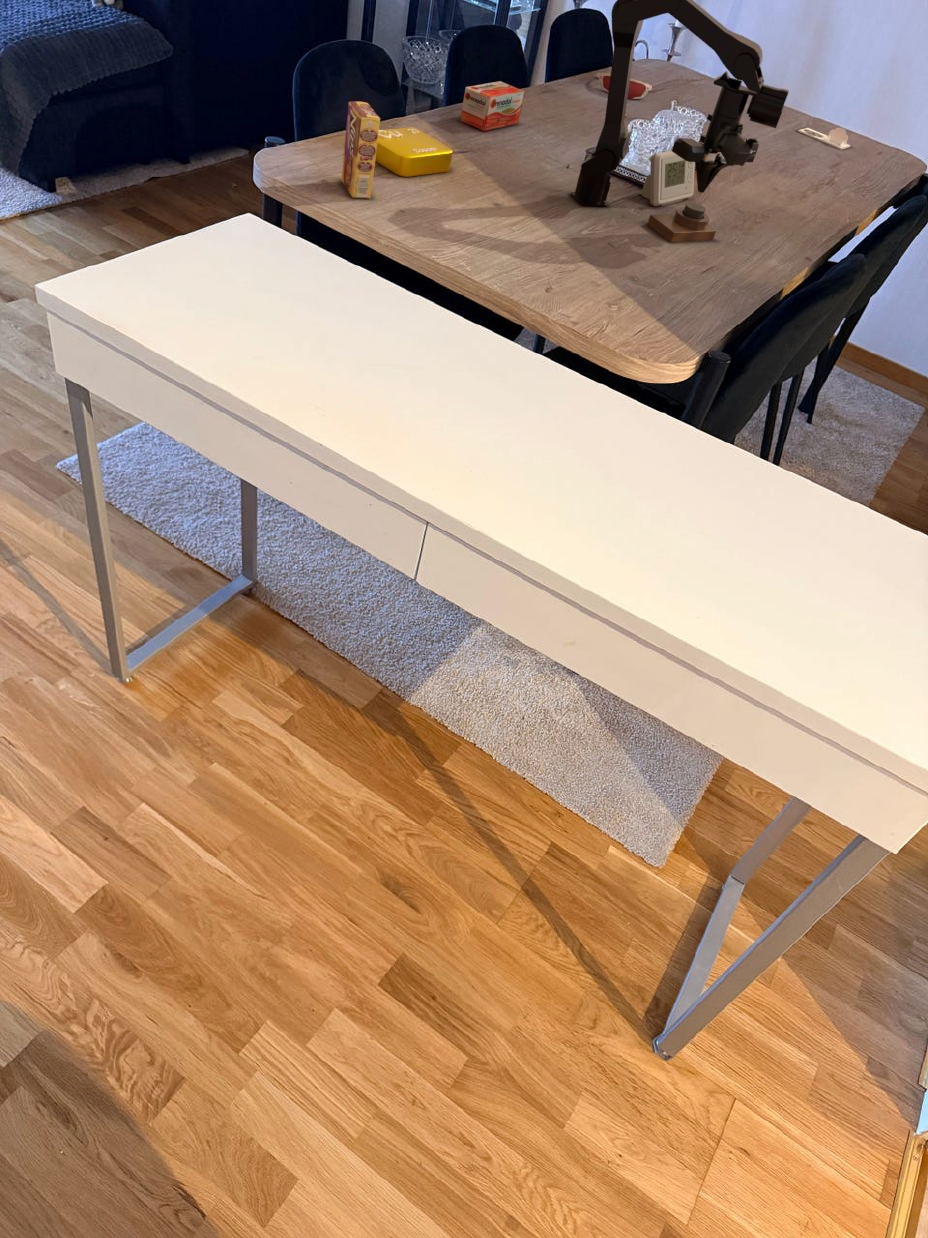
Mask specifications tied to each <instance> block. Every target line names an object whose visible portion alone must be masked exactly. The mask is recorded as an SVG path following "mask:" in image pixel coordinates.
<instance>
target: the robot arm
mask: <svg viewBox="0 0 928 1238" xmlns="http://www.w3.org/2000/svg"><path fill="white" fill-rule="evenodd" d="M665 14H669V15H670V16H671V17H673V19H675V20H676V21H678V22H679V23H680V24H681V25H683V26H684V27H685V28H686V29H687V30H688V31H690V32H691V33H692V34H693V35H694V36H696V37H697V38H698V39H699V40H701V41H702V42H703V43H704V44H705V45H706V46H708V47H709V49H712V51H713V52H714V53H715V54H716V56H717V57H718V59H719V60H720V61H721V63H722V65H723V66H724V68H726V70H724V72H723V73H722V74H721V75H719V76H717V77H715V79H714V80H713V85H715V86H717V87H721V89H720V92H719V95H718V98H717V101H716V104H715V107H714V109H713V113H708V114H707V117H706V120H708V121H709V124H708V127H707V129H706V130H707V131H706V133H705V134H701V135H700V138H699V141H700V142H701V143H700V142H698V141H697V140H695V139H694V138H692V137H678V138H677V139H675V140H674V143H673V145H672V148H671V149H672V152H673V153H675V154H676V155H678V156H679V157H681V158H682V159H684V160H685V161H688V162H695V173H696V184H697V185H696V186H697V192H699V193H701V194H702V193H704V192H705V191H706V190H707V189H708V187H709V186H710V184H711V183H712V182H713V180H714V179H715V178H716V177H717V176H718V174H719V173H720V171H722V170H723V169H725V168H727V167H734V166H740V167H742V166H744V165H745V164H746V163H754V160H755V157H756V155H757V153H758V149H759V146H760V142H759V140H758V139H757V138H756V137H753V138H748V137H744V136H743V135H742V132H743V129H744V127H743V126H744V124H743V123H742V122H741V120H742V117H743V114H744V111H745V108H746V106H747V103H748V101H749V97H750V96H751V99H750V101H749V104H748V108H747V110H746V113H745V114H746V115H748V116H747V117H748V118H749V121H750V122H753V123H756V124H760V125H763V126H766V127H770V128H772V129H777V127H778V124H779V121H780V119H781V116H782V114H783V111H784V108H785V104H786V100H787V98H788V96H789V93H790V91H789V89H786V88H778V87H775V86H772V85H769V84H765V79H764V75H763V72H762V71H763V70H762V68H761V65H762V62H763V49H762V47H761V46H760V44H759V43H757V42H755V41H753V40H751V38H750V39H749V38H748V37H746V36H744V35H742V34H739V33H736V32H734V31H732V30H730V29H728V28H727V27H726V26H724V25H723V24H722V23H721V22H719V20H717V19H716V18H714V16H712V15H711V14H710V13H709V12H708V11H707V10H705V9H704V8H703V7H701V6H700V5H699V4H698V3H697V2H696V1H695V0H616V1H615V2H614V4H613V6H612V9H611V34H612V42H613V43H612V44H613V54H612V61H611V70H610V74H611V76H610V84H609V92H607V99H606V108H605V116H604V123H603V127H602V129H601V132H600V135H599V138H598V141H597V143H596V147H595V151H593V152H591V153H590V154H589V156H587V158H586V159H585V160H584V161H583V162H582V163H581V165H580V171H579V174H578V178H577V182H576V186H575V190H574V191H571V192H570V195H571V196H572V197H573V198H574V199H575V200H576V202H578V204H579V205H581V206H583V207H600V208H602V207H603V208H607V206H608V204H607V203H606V201H607V198H608V195H609V191H610V188H611V184H612V183H611V178H612V175H611V174H610V173H611V172H614V171H615V170H616V169H617V168H618V167H619V165H620V164H621V163H622V162H623V161H624V159H625V158H626V156H627V155H628V154H629V152H630V147H629V145H630V140H631V137H632V131H626V126H625V125H626V124H625V118H626V113H627V104H628V99H629V98H628V91H629V84H630V79H631V75H632V69H633V61H634V54H635V48H636V45H637V42H638V39H639V37H640V34H641V31H642V27H643V24H644V21H645V20H648V19H652V18H656V17H658V16H661V15H665ZM729 73H730V74H731V76H732V77H731V76H730V75H729ZM742 84H744V85H742Z"/></svg>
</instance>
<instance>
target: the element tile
mask: <svg viewBox="0 0 928 1238" xmlns="http://www.w3.org/2000/svg"><path fill="white" fill-rule="evenodd" d="M452 158H453V149H452V148H451V147H449V146H447V145H445V144H444V143H442V142H440V141H438V140H437V139H435V138H434V137H432V136H430V135H428V134H426V133H425V132H423V131H422V130H420V129H418V128H417V127H413V126H411V127H410V126H409V127H399V128H389V129H379V134H378V142H377V150H376V158H375V163H378V165H381V166H383V168H385V169H387V170H389V171H390V172H392V173H393V174H395V175H397V176H399V177H404V178H411V177H418V176H425V175H432V174H441V173H447V172H449V171H450V170H451V164H452Z"/></svg>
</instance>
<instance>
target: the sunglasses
mask: <svg viewBox="0 0 928 1238" xmlns="http://www.w3.org/2000/svg"><path fill="white" fill-rule="evenodd" d="M595 76H596V77H597V78H598V79H599V80H598V84H599V85H600V88H601V89H602V90H603V91H606V92H607V93H608V92H609V84H610V76H611V73H608V72H607V73H606V72H597V73H596V75H595ZM652 89H653V85H651V84H649V83H647V82H644V81H640V80H637V79H633V78H630V84H629V91H628V98H627V99H632V100H634V99H635V100H638V99H643V98H645V96H647V94H648V92H649V91H652Z"/></svg>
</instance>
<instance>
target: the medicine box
mask: <svg viewBox="0 0 928 1238" xmlns="http://www.w3.org/2000/svg"><path fill="white" fill-rule="evenodd" d="M524 96H525V90H523V89H520V88H517V87H515V86H512V85H510V84H508V83H506V82H503V81H501V80H499V81H494V82H493V81H492V82H488V83H483V84H482V83H481V84H477V85H471V86H465V89H464V95H463V100H462V108H461V116H460V122H463V123H464V124H467V125H469V126H472V127H474V128H477V129H479V130H481V131H483V132H486V131H491V130H495V129H501V128H505V127H510V126H514V125H518V124H519V121H520V117H521V113H522V107H523V102H524V98H525V97H524Z"/></svg>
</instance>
